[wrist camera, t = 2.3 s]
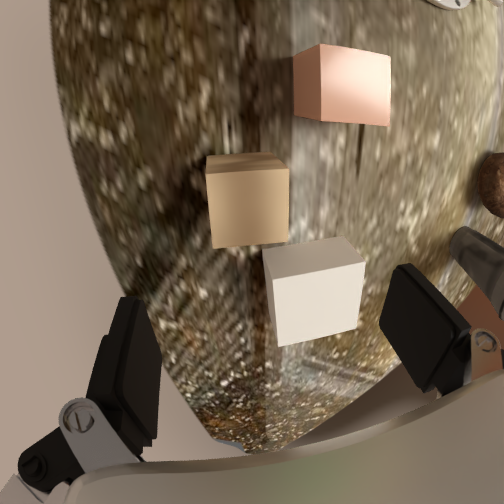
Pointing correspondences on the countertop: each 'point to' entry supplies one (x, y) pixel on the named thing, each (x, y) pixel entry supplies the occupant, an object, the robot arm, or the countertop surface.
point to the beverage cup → (481, 263)
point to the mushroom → (492, 184)
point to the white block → (313, 288)
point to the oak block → (247, 199)
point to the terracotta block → (342, 85)
